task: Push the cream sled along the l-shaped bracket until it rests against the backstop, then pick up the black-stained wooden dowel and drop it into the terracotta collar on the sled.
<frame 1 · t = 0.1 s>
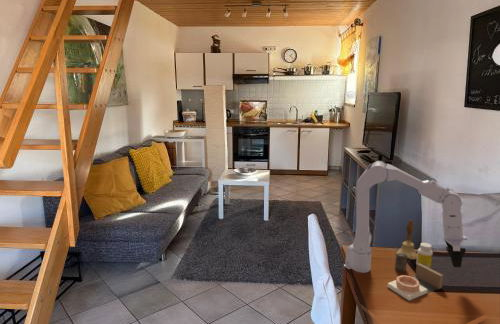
hand: (455, 261, 119), 10 cm above the table, tool pointing down, fingers open, 7 cm apart
sled: (406, 289, 119), point 1 cm above the table, slide at -6.0 cm
l-shaped bracket: (413, 289, 121), on the table
hand bell: (407, 255, 146), on the table
supplement bottle: (423, 267, 136), on the table
dowel: (400, 271, 133), on the table
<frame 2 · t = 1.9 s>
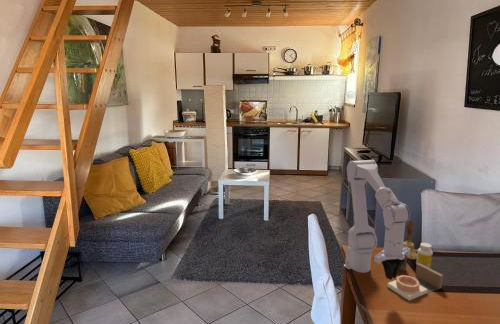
hand: (390, 277, 114), 8 cm above the table, tool pointing down, fingers closed
nothing on the table moved.
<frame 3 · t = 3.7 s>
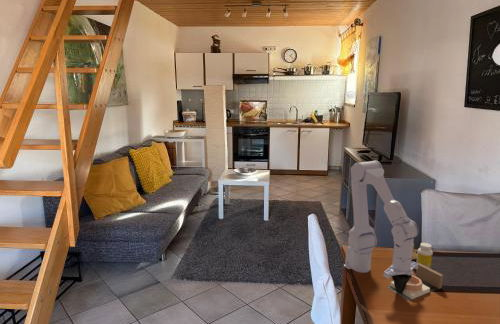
hand: (399, 291, 117), 2 cm above the table, tool pointing down, fingers closed
sled: (409, 288, 120), point 1 cm above the table, slide at -4.6 cm, touching gripper
everything else where it was.
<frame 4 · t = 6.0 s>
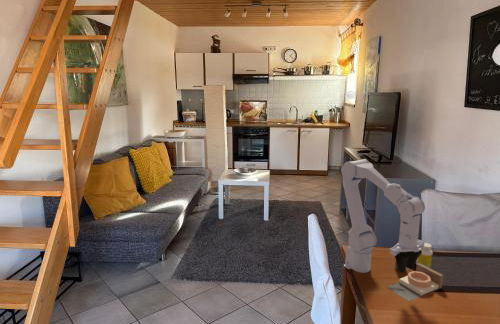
hand: (405, 269, 116), 9 cm above the table, tool pointing down, fingers open, 3 cm apart
sled: (418, 285, 122), point 1 cm above the table, slide at 0.0 cm
everything else where it was.
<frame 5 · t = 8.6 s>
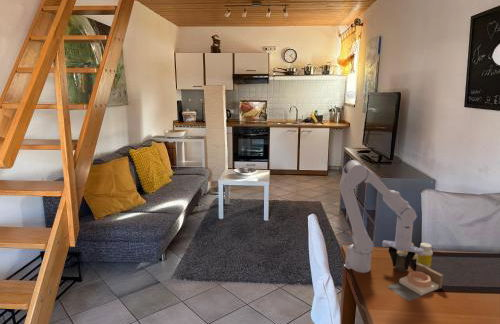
hand: (400, 267, 132), 2 cm above the table, tool pointing down, fingers closed on dowel, 4 cm apart
dowel: (400, 271, 133), on the table, touching gripper
everything else where it was.
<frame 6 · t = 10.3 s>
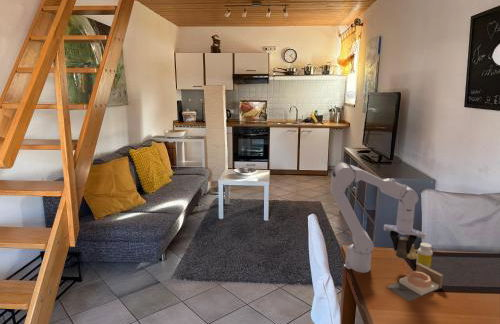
hand: (401, 251, 131), 9 cm above the table, tool pointing down, fingers closed on dowel, 4 cm apart
dowel: (401, 255, 131), point 7 cm above the table, touching gripper
everything else where it was.
when the fingers open (6 cm above the table, at t = 12.4 s): dowel drops 1 cm, resting on sled.
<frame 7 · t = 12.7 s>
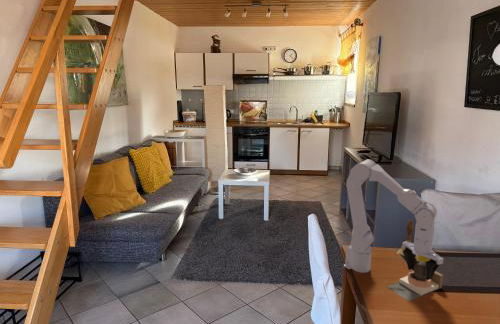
hand: (419, 273, 121), 6 cm above the table, tool pointing down, fingers open, 7 cm apart
sled: (418, 285, 122), point 1 cm above the table, slide at 0.0 cm, touching dowel
dowel: (419, 281, 121), point 3 cm above the table, touching sled
everything else where it was.
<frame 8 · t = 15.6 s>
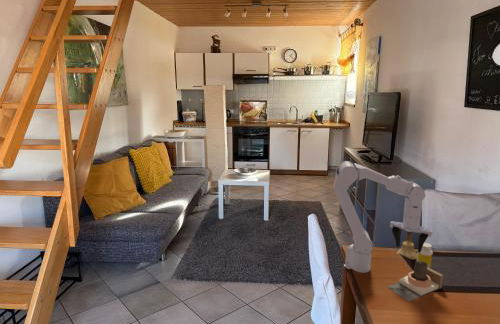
hand: (408, 248, 129), 10 cm above the table, tool pointing down, fingers open, 7 cm apart
nothing on the table moved.
at the end: sled slide at 0.0 cm; dowel 0.1 cm off-centre on the sled, point 1.5 cm above the sled's base; dowel tilted 0° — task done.
